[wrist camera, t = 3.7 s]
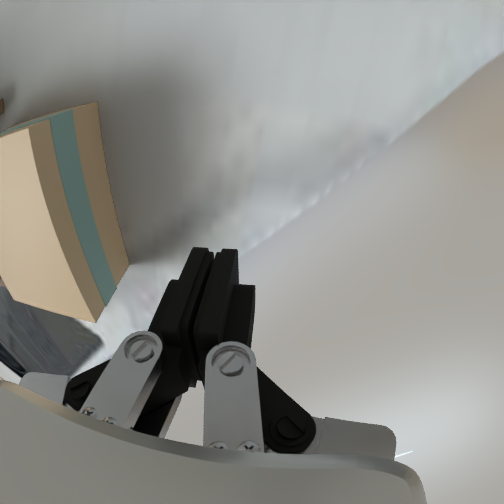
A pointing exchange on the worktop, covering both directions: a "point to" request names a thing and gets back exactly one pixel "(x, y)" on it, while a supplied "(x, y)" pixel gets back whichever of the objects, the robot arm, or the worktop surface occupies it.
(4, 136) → the carton
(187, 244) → the worktop surface
